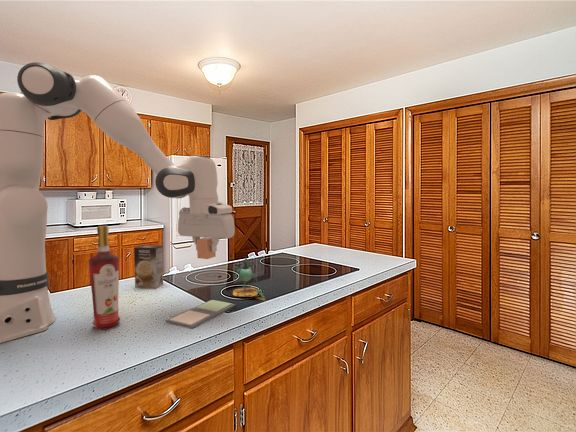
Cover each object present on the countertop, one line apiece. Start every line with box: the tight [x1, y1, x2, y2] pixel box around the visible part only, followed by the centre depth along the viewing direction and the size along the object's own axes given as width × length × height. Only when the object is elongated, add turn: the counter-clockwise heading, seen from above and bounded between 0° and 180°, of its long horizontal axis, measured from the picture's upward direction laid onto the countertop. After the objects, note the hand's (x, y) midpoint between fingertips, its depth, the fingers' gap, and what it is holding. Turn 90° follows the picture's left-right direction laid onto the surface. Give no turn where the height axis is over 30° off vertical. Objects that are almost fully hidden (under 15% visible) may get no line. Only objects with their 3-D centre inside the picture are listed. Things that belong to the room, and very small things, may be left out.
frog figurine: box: [232, 257, 266, 301], centre depth 119 cm, size 10×18×15 cm, turn 34°
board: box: [165, 299, 236, 329], centre depth 101 cm, size 20×10×1 cm, turn 154°
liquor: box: [88, 225, 121, 330], centre depth 91 cm, size 7×7×28 cm
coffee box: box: [133, 244, 164, 290], centre depth 130 cm, size 9×6×16 cm
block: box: [196, 237, 217, 260], centre depth 105 cm, size 4×4×6 cm
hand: (206, 250), depth 105 cm, fingers closed on block, 4 cm apart
